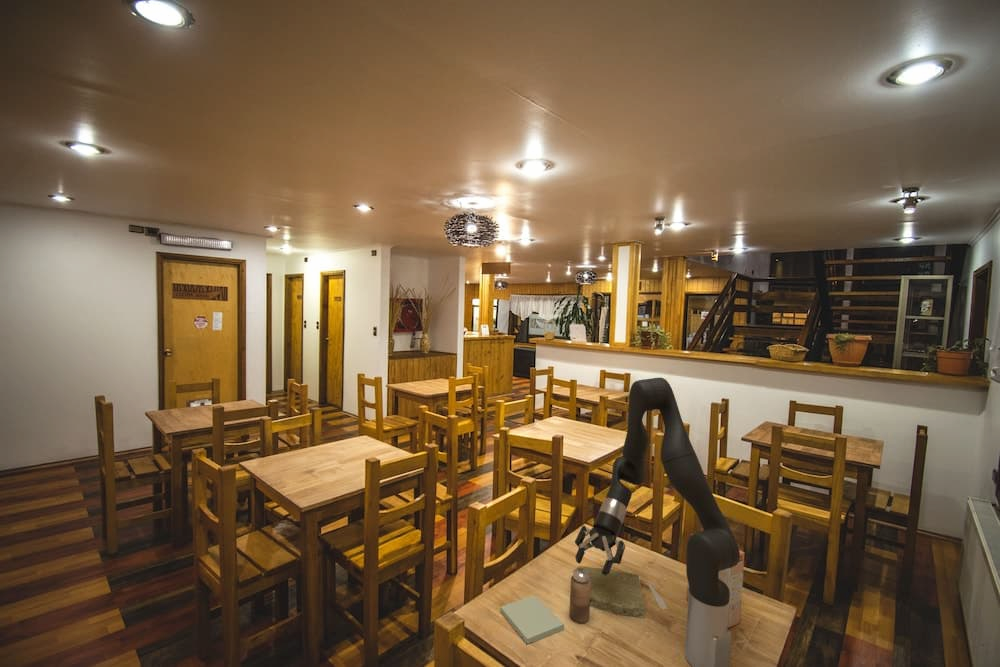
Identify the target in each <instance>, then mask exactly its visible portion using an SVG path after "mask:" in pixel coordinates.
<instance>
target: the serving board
mask: <svg viewBox="0 0 1000 667" xmlns="http://www.w3.org/2000/svg"><path fill="white" fill-rule="evenodd" d="M499 612H500V613H501V614H502V616H503V617H504V619H505V620H506V621H507V622H508V623H509V624H510V626H511V627H512V628H513V629H514V631H515V632H516V631H517V632H516V633H517V634H518V635H519V636H520V638H521V637H522V638H521V639H522V640H523V641H524V642H526V643H527V644H526V643H525V644H526V645H529V644H528V643H530V644H532V643H535V642H536V641H539V640H542V639H544V638H547V637H549V636H551V635H552V636H553V635H554V634H556V633H558V632H561V631H563V630H565V624H564V622H562V620H561V619H560V618H559V617H558V616H557V615H556V614H555V613H554V612H553V611H552V610H551V609H550V608H549V607H548V606H547V605H546V604H545V603H544V602H543V601H542V600H541V599H540V598H539V597H538V596H537V595H536V594H534V595H533V594H532V595H531V596H527V597H524V598H522V599H519V600H516V601H512V602H510V603H507V604H504V605H501V606H500V610H499ZM534 641H535V642H534ZM531 642H532V643H531Z"/></svg>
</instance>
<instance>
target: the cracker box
mask: <svg viewBox="0 0 1000 667" xmlns="http://www.w3.org/2000/svg"><path fill="white" fill-rule="evenodd" d="M692 534H693V533H692ZM692 534H690V536H691V535H692ZM739 551H740V559H739V562H738V564H737V565H736V566H734V567H732V568H728V569H725V570H722V571H719V579H720V580H721V581H723V582H724V583H725V584H726V585H727V586H728V588H729V591H730V600H729V613H728V628H727V629H730V628H731V627H735V626H736V625H739V624H740V622H741V614H742V613H741V611H742V598H743V597H742V596H743V584H744V582H743V581H744V567H745V552H744V551H742V550H740V549H739ZM686 585H687V586H686V601H688V595H689V583H688V582H687V584H686Z"/></svg>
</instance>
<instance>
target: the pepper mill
mask: <svg viewBox="0 0 1000 667" xmlns="http://www.w3.org/2000/svg"><path fill="white" fill-rule="evenodd" d="M572 573H573V574H572V576H571V577H570V590H569V591H570V594H569V612H568V615H569V616H568V617H569V619H570V621H572V622H573V623H575V624H579V625H585V624H587V623H588V622H589V620H590V612H591V611H590V610H591V609H590V608H591V607H590V593H591V579H590V578H589V572H588V571H587V570H585V569H582V568H577V567H576V568H575V569H574V570H573V572H572Z"/></svg>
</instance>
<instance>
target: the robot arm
mask: <svg viewBox="0 0 1000 667" xmlns="http://www.w3.org/2000/svg"><path fill="white" fill-rule="evenodd" d="M657 410H658V411H659V412H660V416H661V418H662V422H663V428H664V430H663V437H662V441H661V447H660V461H661V463H662V466H663V468H664V472H665V474H666V478H667V479H668V482H669V483H670V484H671V486H672V487H673V489H674V490H675V491H676V492H677V493H678V494H679V495H680V496H681V497H682V498H683V499H684V500H685V501H686V502H687V503H688V504H689V506H690V507H691V508H692V509H693V511H694V513H695V514H696V516H697V518H698V520H699V523H700V524H701V527H702V529H703V530H702V531H697V532H693V533H692V535H691V534H690V536H689V537H688V540H687V543H686V554H685V555H686V562H685V563H686V569H685V570H686V572H685V573H686V579H687V583H689V595H688V600H687V613H686V626H685V644H684V657H685V660H686V662H688V664H689V666H691V667H729V666H730V655H731V654H730V653H731V651H730V650H731V638H732V633H731V631H730V630H729V628H728V613H729V600H730V591H729V588H728V586H727V585H726V584H725V583H724V582H723V581H721V580H720V579H719V571H722V570H725V569H728V568H732V567H734V566H736V565H737V564H738V562H739V559H740V551H741V550H740V549H739V548H740V547H739V544H738V542H737V540H736V537H735V535H734V534H733V531H732V529H731V527H730V526H729V524H728V522H727V520H726V518H725V516H724V514H723V512H722V511H721V508H720V507H719V505H718V503H717V500H716V498H715V496H714V494H713V492H712V489H711V487H710V485H709V483H708V480H707V479H706V478H707V477H706V476H705V474H704V473H705V472H704V470H703V468H702V466H701V463H700V461H699V458H698V456H697V454H696V451H695V449H694V447H693V445H692V442H691V440H690V438H689V435H688V432H687V429H686V427H685V424H684V422H683V419H682V415H681V413H680V409H679V405H678V403H677V400H676V397H675V394H674V390H673V389H672V387H671V385H670V383H669V381H668V380H667V379H666V378H663V377H653V378H647V379H645V378H644V379H639V380H635V381H634V382H633V383H632V384H631V386H630V389H629V394H628V408H627V430H626V434H625V435H626V436H625V439H624V443H623V446H622V451H621V452H622V453H621V454H622V456H618V457H617V458H616V459H614V461H613V464H612V471H611V472H612V475H611V482H610V485H609V489H608V491H607V493H606V497H605V498H604V500H603V501H602V504H601V506H600V509H599V511H598V513H597V516H596V518H595V520H594V523H593V526H592V528H591V529H590V528H587V527H586V526H585V525H582V526H581V528H580V531H579V532H578V535H577V536H576V538H575V540H574V544H575V545H576V546H577V547H578V549H577V552H576V554H575V562H576V563H577V564H581V563H582V560H583V558H584V556H585V553H586V552H585V551H587V550H588V549H592V548H595V549H597V550H600V551H602V552H605V553H606V557H607V559H606V560H605V563H604V565H603V568H602V569H603V570H602V574H603V575H605V576H606V575H607V574H609V572H610V570H612V566H613V565H614V564H617V565H621V563H622V560H623V557H624V553H625V550H626V544H625V543H624V540H617V538H618V535H619V533H620V530H621V529H622V528H621V527H622V525H623V523H624V520H625V517H626V513H627V509H628V506H629V505H630V502H631V498H632V491H631V489H630V488H629V487H627V486H626V484H624V483H622V482H621V480H622V481H624V482H627V483H629V484H631V485H634V486H640V485H642V484H643V483H644V481H646V480H645V479H646V474H647V473H646V471H647V468H646V462H645V461H646V459H645V458H646V454H647V451H648V447H649V444H650V438H649V437H650V436H649V433H648V431H647V428H646V427H645V425H644V422H643V418H644V416H645V413H646V412H652V411H657ZM588 535H589V537H587V536H588ZM586 537H587V538H586ZM585 538H586V539H585ZM615 545H616V548H617V549H616V551H615V555H613V554H614V553H613V550H612V547H615ZM739 550H740V551H739Z"/></svg>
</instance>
